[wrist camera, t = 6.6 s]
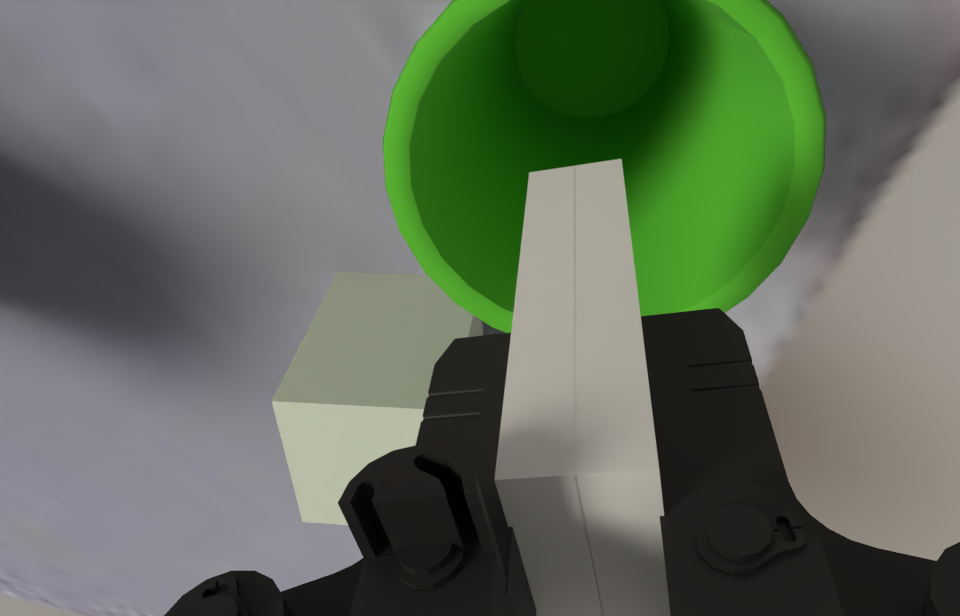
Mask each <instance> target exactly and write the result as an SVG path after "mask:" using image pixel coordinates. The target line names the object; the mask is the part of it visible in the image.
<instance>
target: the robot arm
mask: <svg viewBox="0 0 960 616" xmlns="http://www.w3.org/2000/svg"><path fill="white" fill-rule="evenodd" d="M428 394H429V397H427V399H426V403H425V407H424V411H423V421H421V424H420V428H419V432H418V437H417V441H416V445H415V446H411V447H407V448H402V449H398V450H393V451H391V452H389V453H387V454H385V455H383V456H382V457H380V458H378V459H376V460H374V461H372V462H370V463H368V464H367V465H366V466H365V467H364V468H363V469H362V470H361V471H360V472H359V473H358V474H357V475H356V476H355V477H353V478H352V479H351V480H350V481H349V483H348V485H347V487H346V489H345V490H344V492H343V494H342V496H341V498H340V499H339V501H338V505H339V507H340V509H341V511H342V513H343V515H344V517H345V519H346V521H347V524H348V526H349V528H350V530H351V532H352V534H353V536H354V538H355V540H356V542H357V545H358V547H359V549H360V551H361V553H362V555H363V557H364V558H362V559H361V560H360V561H358V562H357V563H355V564H354V565H352V566H350V567H347V568H345V569H343V570H341V571H339V572H336V573H334V574H331V575H328V576H325V577H323V578H320V579H317V580H314V581H311V582H308V583H305V584H302V585H299V586H297V587H294V588H291V589H288V590H285V591H282V592H280V591H279V589H278V587H277V586H276V584H275V583H274V581H273V579H271V578H269V577H267V576H265V575H263V574H261V573H258V572H256V571H230V572H227V573H224V574H221V575H218V576H215V577H212V578H210V579H207V580H205V581H204V582H202V583H201V584H199V585H198V586H196V587H195V588H193V589H192V590H190V591H189V592H187V593H186V594H184V595H183V596H182V597H181V598H180V599H179V600H178V601H177V602H176V603H175V605H174V606H173V607H172V608H171V609H170V610H169V611H168V612H167V613H166V614H165V615H164V616H960V542H959V543H957V544H955V545H953V546H951V547H948V548H946V549H945V550H944V552H943V553H942V555H941V556H940V558H939V559H938V560H937V561H933V560H929V559H924V558H919V557H915V556H910V555H906V554H901V553H896V552H892V551H888V550H883V549H878V548H875V547H871V546H868V545H865V544H862V543H858V542H855V541H852V540H850V539H847V538H846V537H844V536H842V535H840V534H838V533H836V532H834V531H832V530H830V529H828V528H827V527H825V526H824V525H823V524H822V523H820V522H819V521H818V520H816V519H815V518H814V517H812V516H811V515H810V514H809V513H808V512H807V510H806V509H805V508H804V507H803V506H802V505H801V503H800V502H799V501H798V500H797V499H796V496H795V494H794V492H793V490H792V488H791V486H790V484H789V481H788V478H787V475H786V471H785V468H784V465H783V461H782V458H781V455H780V452H779V448H778V445H777V442H776V438H775V435H774V432H773V428H772V425H771V422H770V419H769V415H768V412H767V409H766V405H765V402H764V398H763V395H762V392H761V390H760V388H759V382H758V379H757V375H756V372H755V369H754V365H752V359H751V355H750V352H749V349H748V345H747V342H746V339H745V335H744V332H743V330H742V329H741V328H740V327H739V326H738V325H737V324H735V323H734V322H733V321H732V320H731V319H730V318H729V317H728V316H727V315H726V314H725V313H724V312H723V311H722V310H721V309H719V308H713V309H704V310H694V311H685V312H676V313H666V314H657V315H648V316H641V315H640V307H639V298H638V290H637V282H636V274H635V265H634V257H633V249H632V241H631V232H630V224H629V216H628V208H627V199H626V191H625V183H624V175H623V166H622V159H616V160H609V161H602V162H596V163H589V164H582V165H576V166H569V167H563V168H556V169H549V170H543V171H536V172H529V179H528V188H527V197H526V206H525V215H524V223H523V232H522V241H521V250H520V259H519V267H518V276H517V285H516V294H515V303H514V312H513V320H512V329H511V333H503V334H493V335H484V336H474V337H465V338H456V339H454V340H453V341H452V343H451V344H450V345H449V347H448V348H447V349H446V350H445V352H444V353H443V354H442V355H441V357H440V358H439V359H438V360H437V362H436V363H435V365H434V369H433V373H432V377H431V382H430V386H429V390H428Z"/></svg>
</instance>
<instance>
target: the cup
mask: <svg viewBox="0 0 960 616" xmlns="http://www.w3.org/2000/svg"><path fill="white" fill-rule="evenodd" d="M825 127H826V114H825V110H824V107H823V103H822V99H821V95H820V91H819V87H818V83H817V79H816V75H815V71H814V67H813V64H812V62H811V60H810V59H809V57H808V55H807V54H806V52H805V50H804V49H803V47H802V45H801V44H800V42H799V40H798V39H797V37H796V35H795V34H794V32H793V30H792V29H791V27H790V26H789V24H788V22H787V21H786V19H785V17H784V16H783V15H782V14H781V13H780V12H779V11H778V10H777V9H776V8H774V7H773V6H772V5H771V4H770V3H769V2H768V1H767V0H453V1H452V2H451V3H450V4H449V5H448V7H447V8H446V9H445V10H444V11H443V12H442V13H441V15H440V16H439V17H438V18H437V19H436V20H435V22H434V23H433V24H432V25H431V26H430V27H429V29H428V30H427V31H426V32H425V33H424V34H423V36H422V37H421V38H420V39H419V40H418V41H417V42H416V44H415V46H414V48H413V50H412V52H411V54H410V56H409V58H408V60H407V62H406V65H405V67H404V69H403V71H402V73H401V75H400V77H399V79H398V81H397V83H396V85H395V87H394V89H393V91H392V96H391V101H390V106H389V111H388V116H387V121H386V126H385V131H384V136H383V151H384V168H385V185H386V190H387V193H388V196H389V200H390V203H391V206H392V209H393V212H394V215H395V218H396V221H397V225H398V228H399V231H400V232H401V234H402V236H403V237H404V239H405V241H406V242H407V244H408V246H409V247H410V249H411V250H412V252H413V254H414V255H415V257H416V259H417V260H418V262H419V264H420V265H421V267H422V268H423V270H424V272H425V273H426V274H427V275H428V276H429V277H430V278H431V279H432V280H433V281H434V282H435V283H436V284H437V285H438V286H439V287H440V288H441V289H442V290H443V291H444V292H445V293H446V294H447V295H448V296H449V297H450V298H451V299H452V300H453V301H454V302H455V303H456V304H457V305H459V306H460V307H462V308H463V309H465V310H466V311H468V312H469V313H471V314H473V315H474V316H476V317H477V318H479V319H480V320H482V321H483V322H485V323H486V324H488V325H489V326H491V327H493V328H496V329H498V330H501V331H503V332H506V333H511V329H512V320H513V312H514V303H515V294H516V285H517V276H518V267H519V259H520V250H521V241H522V232H523V223H524V215H525V206H526V197H527V188H528V179H529V172H536V171H543V170H549V169H556V168H563V167H569V166H576V165H582V164H589V163H596V162H602V161H609V160H616V159H622V166H623V175H624V183H625V191H626V199H627V208H628V216H629V224H630V232H631V241H632V249H633V257H634V265H635V274H636V282H637V290H638V298H639V307H640V315H641V316H648V315H657V314H666V313H676V312H685V311H694V310H704V309H713V308H719V309H721V310H722V311H723V312H724V313H725V312H727V311H728V310H729V309H731V308H732V307H734V306H735V305H737V304H738V303H740V302H741V301H743V300H744V299H746V298H747V297H749V295H750V294H751V293H752V292H753V291H754V290H755V289H756V288H757V287H758V286H759V285H760V284H761V283H762V282H763V281H764V280H765V279H766V278H767V277H768V276H769V275H770V274H771V273H772V272H773V271H774V270H775V269H776V268H777V267H778V266H779V265H780V264H781V262H782V261H783V259H784V257H785V256H786V254H787V252H788V251H789V249H790V247H791V246H792V244H793V242H794V241H795V239H796V238H797V236H798V234H799V233H800V231H801V229H802V228H803V226H804V224H805V223H806V221H807V219H808V218H809V215H810V212H811V209H812V206H813V202H814V199H815V196H816V193H817V189H818V186H819V183H820V180H821V176H822V173H823V170H824V157H825Z"/></svg>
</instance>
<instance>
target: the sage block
mask: <svg viewBox="0 0 960 616" xmlns="http://www.w3.org/2000/svg"><path fill="white" fill-rule="evenodd" d="M474 336H483V321H482V320H480V319H479V318H477V317H476V316H474V315H473V314H471V313H469V312H468V311H466V310H465V309H463V308H462V307H460V306H459V305H457V304H456V303H455V302H454V301H453V300H452V299H451V298H450V297H449V296H448V295H447V294H446V293H445V292H444V291H443V290H442V289H441V288H440V287H439V286H438V285H437V284H436V283H435V282H434V281H433V280H432V279H431V278H430V277H429V276H428V275H407V274H376V273H346V272H337V274H336V276H335V278H334V280H333V282H332V284H331V285H330V287H329V289H328V291H327V293H326V295H325V297H324V299H323V301H322V303H321V305H320V307H319V309H318V311H317V313H316V315H315V317H314V319H313V321H312V323H311V325H310V327H309V329H308V331H307V333H306V335H305V337H304V339H303V341H302V343H301V344H300V346H299V348H298V350H297V352H296V354H295V356H294V358H293V360H292V362H291V364H290V366H289V368H288V370H287V372H286V374H285V376H284V378H283V380H282V382H281V384H280V386H279V388H278V390H277V392H276V394H275V396H274V398H273V400H272V404H273V408H274V412H275V416H276V420H277V424H278V428H279V432H280V436H281V439H282V443H283V447H284V451H285V455H286V459H287V463H288V467H289V471H290V475H291V478H292V482H293V486H294V490H295V494H296V498H297V502H298V506H299V510H300V514H301V518H302V521H303V522H311V523H325V524H339V525H348V524H347V521H346V519H345V517H344V515H343V513H342V511H341V509H340V507H339V505H338V501H339V499H340V498H341V496H342V494H343V492H344V490H345V489H346V487H347V485H348V483H349V481H350V480H351V479H352V478H353V477H355V476H356V475H357V474H358V473H359V472H360V471H361V470H362V469H363V468H364V467H365V466H366V465H367V464H368V463H370V462H372V461H374V460H376V459H378V458H380V457H382V456H383V455H385V454H387V453H389V452H391V451H393V450H398V449H402V448H407V447H411V446H415V445H416V441H417V437H418V432H419V428H420V424H421V421H423V411H424V407H425V403H426V399H427V397H429V394H428V390H429V386H430V382H431V377H432V373H433V369H434V365H435V363H436V362H437V360H438V359H439V358H440V357H441V355H442V354H443V353H444V352H445V350H446V349H447V348H448V347H449V345H450V344H451V343H452V341H453V340H454V339H456V338H465V337H474Z"/></svg>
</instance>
